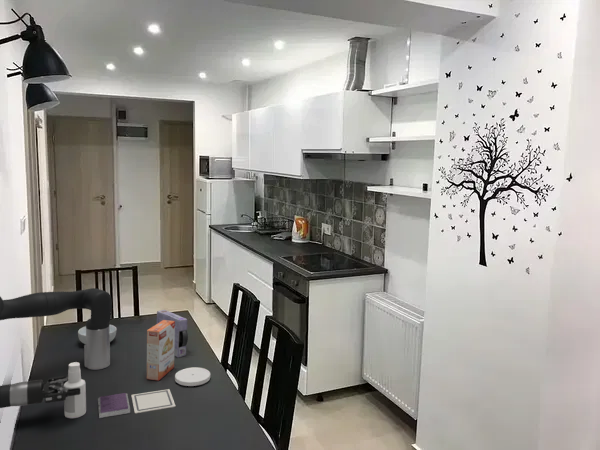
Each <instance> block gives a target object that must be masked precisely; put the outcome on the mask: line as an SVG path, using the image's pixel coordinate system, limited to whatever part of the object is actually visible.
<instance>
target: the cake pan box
mask: <svg viewBox="0 0 600 450" xmlns="http://www.w3.org/2000/svg"><path fill="white" fill-rule="evenodd" d="M162 320H168V321H175V349H174V357H176V358H182V357H185V356H187V344H188V341H189V336H188V335H189V333H188V319H187V318H186V317H182V316H181V315H179V314H176V313H173V312H171V311H169V310H166V309H161V310H157V312H156V324H158V323H159V322H161V321H162Z"/></svg>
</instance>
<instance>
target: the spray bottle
mask: <svg viewBox="0 0 600 450" xmlns="http://www.w3.org/2000/svg"><path fill="white" fill-rule="evenodd" d="M80 364H81V363H80V362H77V361H75V362H70V363H69V364H68V371H67V373H68V374H67V378H68V381H67V382H66V383H65V384H64V388H63V389H67V390H68V389H73V388H80V395H74V396H68V397H67V398H66V400H64V401H63V403H64V404H63V406H64V407H63V409H64V410H63V413H64V416H65V418H67V419H77V418H80V417H82V416H84V415H85V414H86V412H87V392H86V391H87V390H86V389H87V388H86V387H87V386H86V380H85V379H82V376H81V375H82V374H81V372H82V371H81V365H80Z"/></svg>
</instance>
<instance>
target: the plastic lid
mask: <svg viewBox="0 0 600 450" xmlns="http://www.w3.org/2000/svg"><path fill="white" fill-rule="evenodd" d="M174 380H175V381H174V382H175V383H177V384H178V385H181V386H185V387H187V386H188V387H194V386H195V387H196V386H201V385H204V384H206V383H208V382H209V381H210V380H211V371H209V370H208V369H206V368H204V367H197V366H196V367H195V366H194V367H186V368H184V369H180V370H178V371H177V372H176V373H175V374H174Z"/></svg>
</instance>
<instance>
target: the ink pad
mask: <svg viewBox="0 0 600 450" xmlns="http://www.w3.org/2000/svg"><path fill="white" fill-rule="evenodd" d="M128 395H129V394H128V393H126V392H123V393H115V394H110V395H103V396H99V397H98V398H97V402H98V404H97V405H98V418H99V419H102V418H103V419H104V418H108V417H113V416H114V417H115V416H119V415H121V416H122V415H125V414H131V406H130V402H129V396H128Z"/></svg>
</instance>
